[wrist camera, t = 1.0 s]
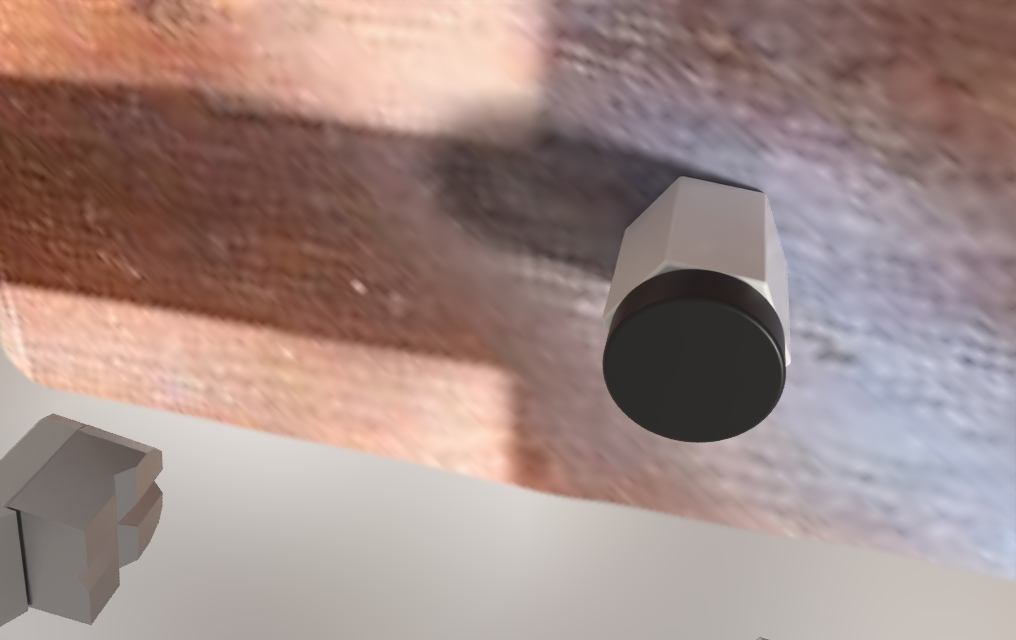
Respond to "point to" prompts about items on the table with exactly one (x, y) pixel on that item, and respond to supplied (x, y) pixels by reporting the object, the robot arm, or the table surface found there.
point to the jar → (699, 314)
